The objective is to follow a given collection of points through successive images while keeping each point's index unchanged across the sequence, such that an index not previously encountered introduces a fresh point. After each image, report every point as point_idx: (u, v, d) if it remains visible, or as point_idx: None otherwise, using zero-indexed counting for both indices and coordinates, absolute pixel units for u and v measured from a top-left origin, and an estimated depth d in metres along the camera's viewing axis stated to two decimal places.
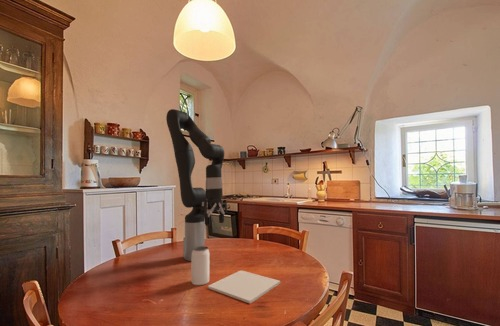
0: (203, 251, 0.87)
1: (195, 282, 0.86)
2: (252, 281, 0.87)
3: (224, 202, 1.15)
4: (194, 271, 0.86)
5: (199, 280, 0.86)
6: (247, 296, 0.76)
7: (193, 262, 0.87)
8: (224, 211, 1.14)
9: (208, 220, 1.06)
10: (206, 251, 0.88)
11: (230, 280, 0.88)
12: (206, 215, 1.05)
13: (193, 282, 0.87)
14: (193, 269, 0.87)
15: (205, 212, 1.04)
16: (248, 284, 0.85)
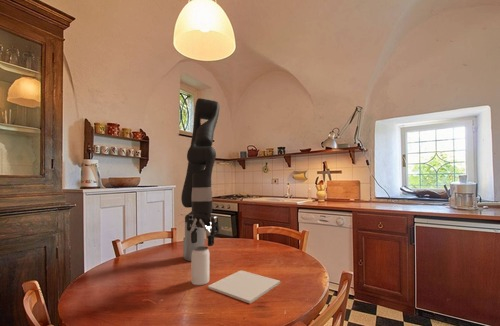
0: (203, 251, 0.87)
1: (195, 282, 0.86)
2: (252, 281, 0.87)
3: None
4: (194, 271, 0.86)
5: (199, 280, 0.86)
6: (247, 296, 0.76)
7: (193, 262, 0.87)
8: None
9: None
10: (206, 251, 0.88)
11: (230, 280, 0.88)
12: None
13: (193, 282, 0.87)
14: (193, 269, 0.87)
15: None
16: (248, 284, 0.85)
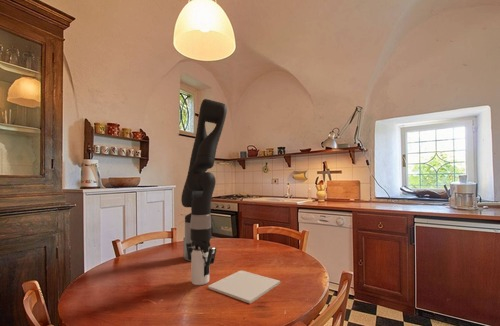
0: None
1: (195, 282, 0.86)
2: (252, 281, 0.87)
3: None
4: (194, 271, 0.86)
5: (199, 280, 0.86)
6: (247, 296, 0.76)
7: (193, 262, 0.87)
8: None
9: None
10: None
11: (230, 280, 0.88)
12: None
13: (193, 282, 0.86)
14: (193, 269, 0.87)
15: None
16: (248, 284, 0.85)
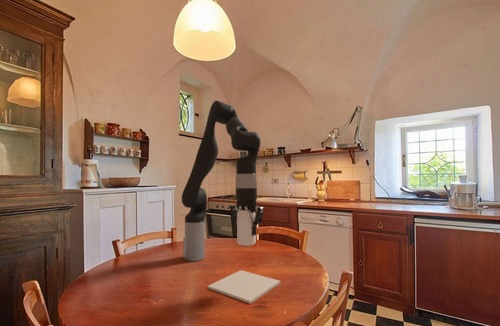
0: None
1: (243, 242, 0.83)
2: (252, 281, 0.87)
3: None
4: (242, 231, 0.84)
5: (247, 240, 0.83)
6: (247, 296, 0.76)
7: (240, 222, 0.84)
8: None
9: None
10: None
11: (230, 280, 0.88)
12: None
13: (240, 242, 0.84)
14: (240, 229, 0.84)
15: None
16: (248, 284, 0.85)
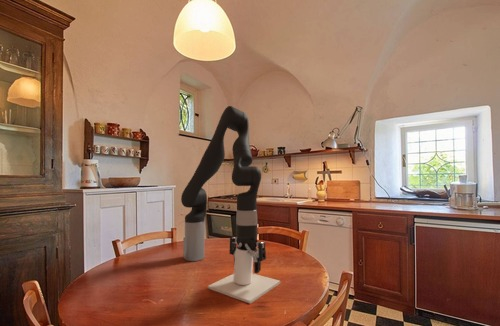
0: None
1: (239, 282, 0.84)
2: (252, 281, 0.87)
3: None
4: (238, 271, 0.84)
5: (243, 280, 0.83)
6: (247, 296, 0.76)
7: (237, 261, 0.84)
8: None
9: None
10: None
11: (230, 280, 0.88)
12: None
13: (236, 281, 0.84)
14: (237, 268, 0.84)
15: None
16: None
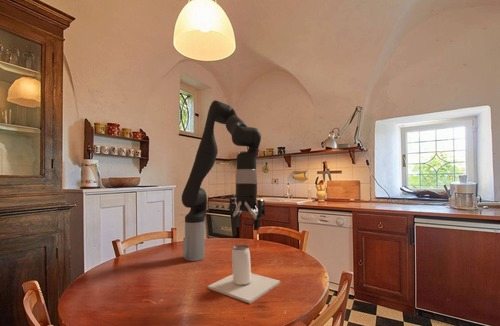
0: (244, 250, 0.85)
1: (238, 282, 0.84)
2: (252, 281, 0.87)
3: None
4: (237, 271, 0.84)
5: (242, 280, 0.84)
6: (247, 296, 0.76)
7: (234, 262, 0.85)
8: None
9: None
10: (247, 250, 0.86)
11: (230, 280, 0.88)
12: None
13: (236, 282, 0.84)
14: (235, 269, 0.84)
15: None
16: (248, 284, 0.85)
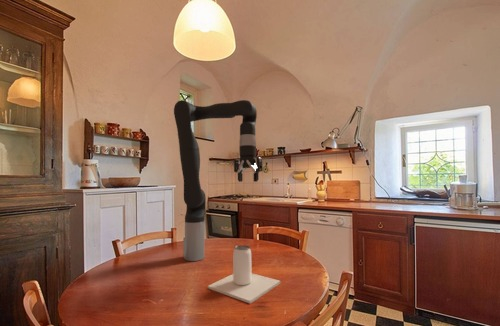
0: (246, 250, 0.85)
1: (238, 282, 0.84)
2: (252, 281, 0.87)
3: None
4: (237, 271, 0.84)
5: (242, 280, 0.84)
6: (247, 296, 0.76)
7: (236, 261, 0.85)
8: None
9: None
10: (248, 250, 0.86)
11: (230, 280, 0.88)
12: None
13: (236, 282, 0.84)
14: (236, 269, 0.85)
15: None
16: (248, 284, 0.85)
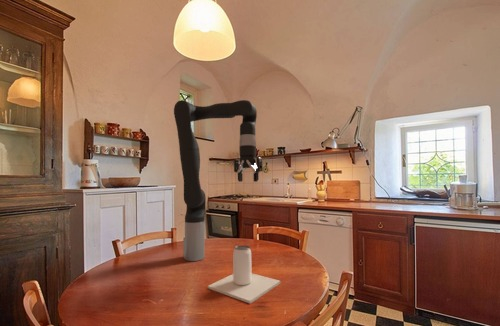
0: (246, 250, 0.85)
1: (238, 282, 0.84)
2: (252, 281, 0.87)
3: None
4: (237, 271, 0.84)
5: (242, 280, 0.84)
6: (247, 296, 0.76)
7: (236, 261, 0.85)
8: None
9: None
10: (248, 250, 0.86)
11: (230, 280, 0.88)
12: None
13: (236, 282, 0.84)
14: (236, 269, 0.85)
15: None
16: (248, 284, 0.85)
